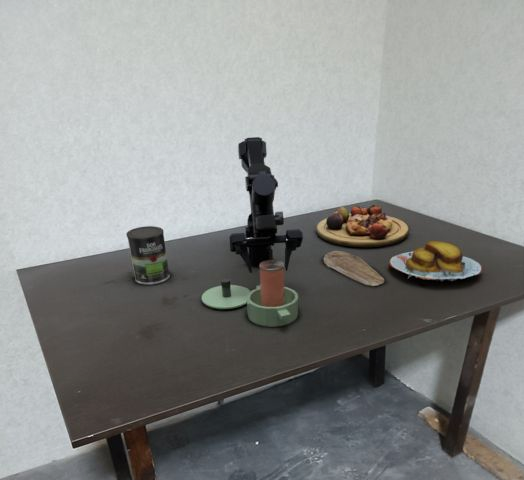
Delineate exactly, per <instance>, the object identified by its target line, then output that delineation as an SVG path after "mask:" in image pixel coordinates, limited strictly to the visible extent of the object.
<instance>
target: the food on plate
mask: <svg viewBox="0 0 524 480" xmlns="http://www.w3.org/2000/svg"><path fill="white" fill-rule="evenodd" d="M388 267H391V268H394V269H395V270H396V271H399V272H401V273H405V274H406V275H408V277H407V279H410V277H413V276H414V277H415V279H418V278H419V279H422V280H427V281H429V280H432V281H433V280H434V281H440V282H444V281H445V280H447V281H451V282H453V281H456V280H458V279H459V280H463V279H466V278H469V277H473V276H477V275H480V274H481V273H482V272H483V267H482V265H481V263H479V262H478V261H477V260H475V259H473V258H470V257H468V256H464V255H463V253H462V250H461V249H460V247H458V246H456V245H455V244H452V243H449V242H446V241H442V240H441V241H439V240H430V241H426V243H425V245H424V246H422V247H418V248H416V249H414V250H412V251H408V252H407V251H406V252H403V253H399V254H397V255H395V256H392V257H390V259H389V261H388Z"/></svg>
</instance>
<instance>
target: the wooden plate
mask: <svg viewBox="0 0 524 480" xmlns="http://www.w3.org/2000/svg"><path fill="white" fill-rule="evenodd" d="M382 209H383V208H382V207H381V206H380V205H375V204H372V205H370V206H369V207H367V208H366V207H365V206H362V207H361V206H358V205H355V206H353V207H351V209H350V212H349V211H348V209H347V208H346V207H344V206H343V205H340V207H338V208H336V209H334V211H333V212H332V213H331V214H329V216H328V217H326V218H324V219H322V220H320V222H318V224H317V226H316V233H317V235H318V236H319V238H321V239H322V240H324V241H326V242H328V243H332V244H335V245H339V246H343V247H344V246H345V247H352V248H377V247H378V248H379V247H386V246H390V245H394V244H397V243H399V242H401V241H404V239H405V238H407V237H408V235H409V232H410V228H409V226H408V224H406V223H405V221H403V220H401V219H399V218H396V217H393V216H390V215H386V213H385V212H383V210H382Z"/></svg>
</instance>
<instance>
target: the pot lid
mask: <svg viewBox="0 0 524 480" xmlns="http://www.w3.org/2000/svg"><path fill="white" fill-rule="evenodd" d="M251 291H252V290H250V289H249V288H247V287H244V286H241V285H236V284H231V279H230V278H227V277H226V278H222V279H221V280H220V285H218V286H214V287H211V288H209V289H207V290H205V291H204V292H203V294H202V295H201V302H202V303H203V304H204V305H205V306H207V307H209V308H211V309H216V310H231V309H236V308H240V307H244V306H245V305H247V295H248V294H249V293H250V292H251Z"/></svg>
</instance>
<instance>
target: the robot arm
mask: <svg viewBox="0 0 524 480" xmlns="http://www.w3.org/2000/svg"><path fill="white" fill-rule="evenodd" d="M237 145H238V146H237V154H238V160H240V163H241V168H242V169H243V170H244V172H246V174H247V175H246V176H245V177H244V181H245V191H246V192H248V196H249V206H250V213H249V214H248V217H247V220H246V221H247V222H246V223H247V224H246V226H245V228H244V229H245V232H237V233H230V235H229V250H230V252H231V253H235V255H239V256H240V258H241V259H242V260H243V262H244V264H245V266H246V268H247V270H248V272H249V274H252V273H253V269H252V267H258V268H260V267H259V264H260V263H261V262H263V261H267V260H275V259H274V256H273V255H274V254H273V250H274V249H273V248H272V246H273V247H274V246H275V244H284V245H285V248H284V270H285V271H286V272H288V268H289V264H290V260H291V259H290V258H291V256H292V252H294V251H296V250H297V249H298V248H301V247H302V243H303V239H304V236H303V231H302V230H301V229H300V228H296V229H294V228H293V229H286V231H285V234H282V235H281V234H280V235H277V234H278V226H283V225H284V224H285V221H284V220H285V219H284V211H274V200H275V194H276V190H277V188H279V182H278V181H277V178H276V177H275V175H274V174H273V173H272V170H271V167H270V166H268V165H266V163H265V159H266V158H267V142H266V141H265V140H263V138H262V137H260V136H253V137H246V138H244V140H243V141H241V142H239V143H238V144H237Z"/></svg>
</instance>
